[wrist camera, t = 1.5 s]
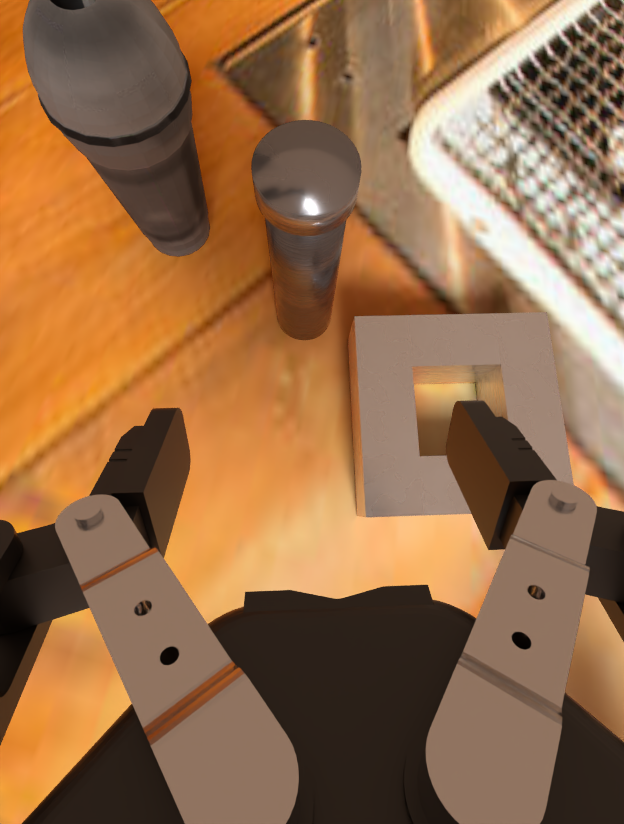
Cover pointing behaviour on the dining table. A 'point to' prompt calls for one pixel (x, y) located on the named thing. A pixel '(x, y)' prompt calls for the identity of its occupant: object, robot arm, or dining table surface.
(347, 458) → the dining table surface
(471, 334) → the block
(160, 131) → the beverage cup
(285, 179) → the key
